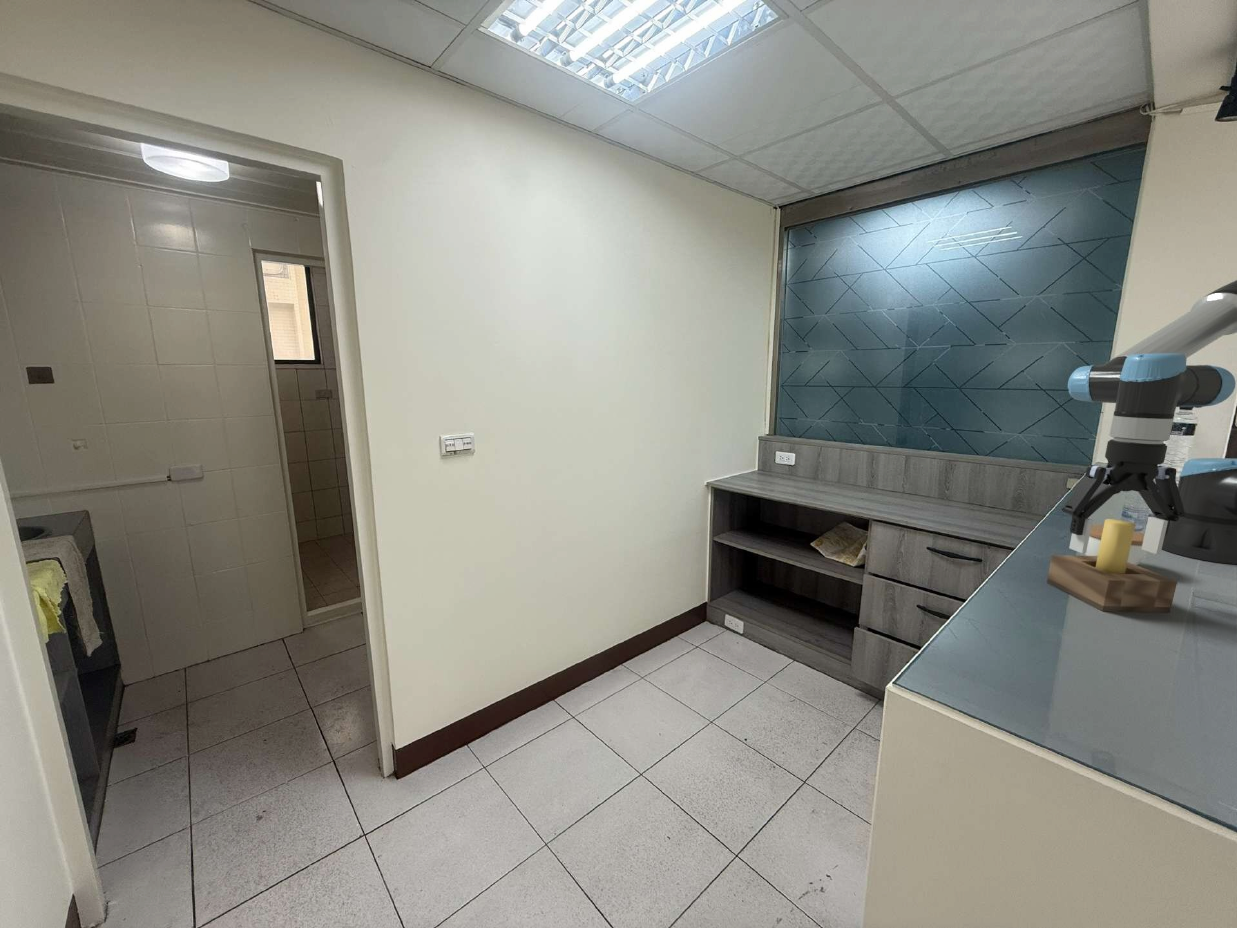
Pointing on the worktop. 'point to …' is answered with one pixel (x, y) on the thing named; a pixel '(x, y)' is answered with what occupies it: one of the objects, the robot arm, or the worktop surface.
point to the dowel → (1115, 546)
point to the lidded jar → (1135, 550)
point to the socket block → (1111, 585)
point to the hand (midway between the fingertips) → (1113, 551)
